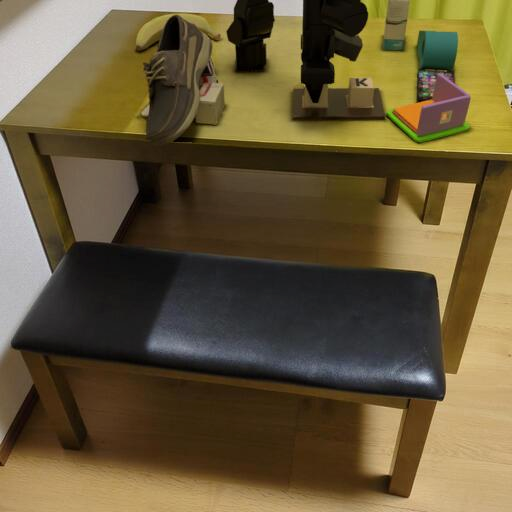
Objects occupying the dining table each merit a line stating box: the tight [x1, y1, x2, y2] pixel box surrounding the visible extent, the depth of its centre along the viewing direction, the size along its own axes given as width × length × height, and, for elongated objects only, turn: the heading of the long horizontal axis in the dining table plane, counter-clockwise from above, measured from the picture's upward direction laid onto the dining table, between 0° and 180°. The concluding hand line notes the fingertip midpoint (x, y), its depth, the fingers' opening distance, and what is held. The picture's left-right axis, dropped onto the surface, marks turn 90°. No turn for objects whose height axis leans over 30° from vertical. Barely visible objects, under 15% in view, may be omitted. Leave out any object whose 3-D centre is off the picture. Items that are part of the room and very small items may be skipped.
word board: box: [292, 87, 386, 121], centre depth 119 cm, size 18×12×1 cm, turn 87°
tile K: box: [348, 77, 375, 106], centre depth 117 cm, size 4×4×4 cm
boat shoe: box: [141, 15, 213, 147], centre depth 111 cm, size 11×29×11 cm
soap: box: [140, 104, 150, 118], centre depth 121 cm, size 10×4×1 cm, turn 162°
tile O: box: [304, 84, 329, 107], centre depth 117 cm, size 4×4×4 cm
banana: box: [135, 12, 221, 52], centre depth 145 cm, size 14×6×20 cm
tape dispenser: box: [416, 30, 459, 70], centre depth 130 cm, size 7×15×8 cm, turn 172°
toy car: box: [199, 56, 219, 91], centre depth 126 cm, size 8×18×8 cm, turn 10°
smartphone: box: [416, 67, 456, 103], centre depth 122 cm, size 8×1×15 cm
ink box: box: [382, 0, 411, 51], centre depth 137 cm, size 8×5×12 cm, turn 168°
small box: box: [194, 82, 226, 126], centre depth 116 cm, size 5×4×8 cm
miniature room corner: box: [386, 74, 472, 143], centre depth 110 cm, size 12×12×7 cm
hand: (315, 97), depth 118 cm, fingers closed on tile O, 4 cm apart
